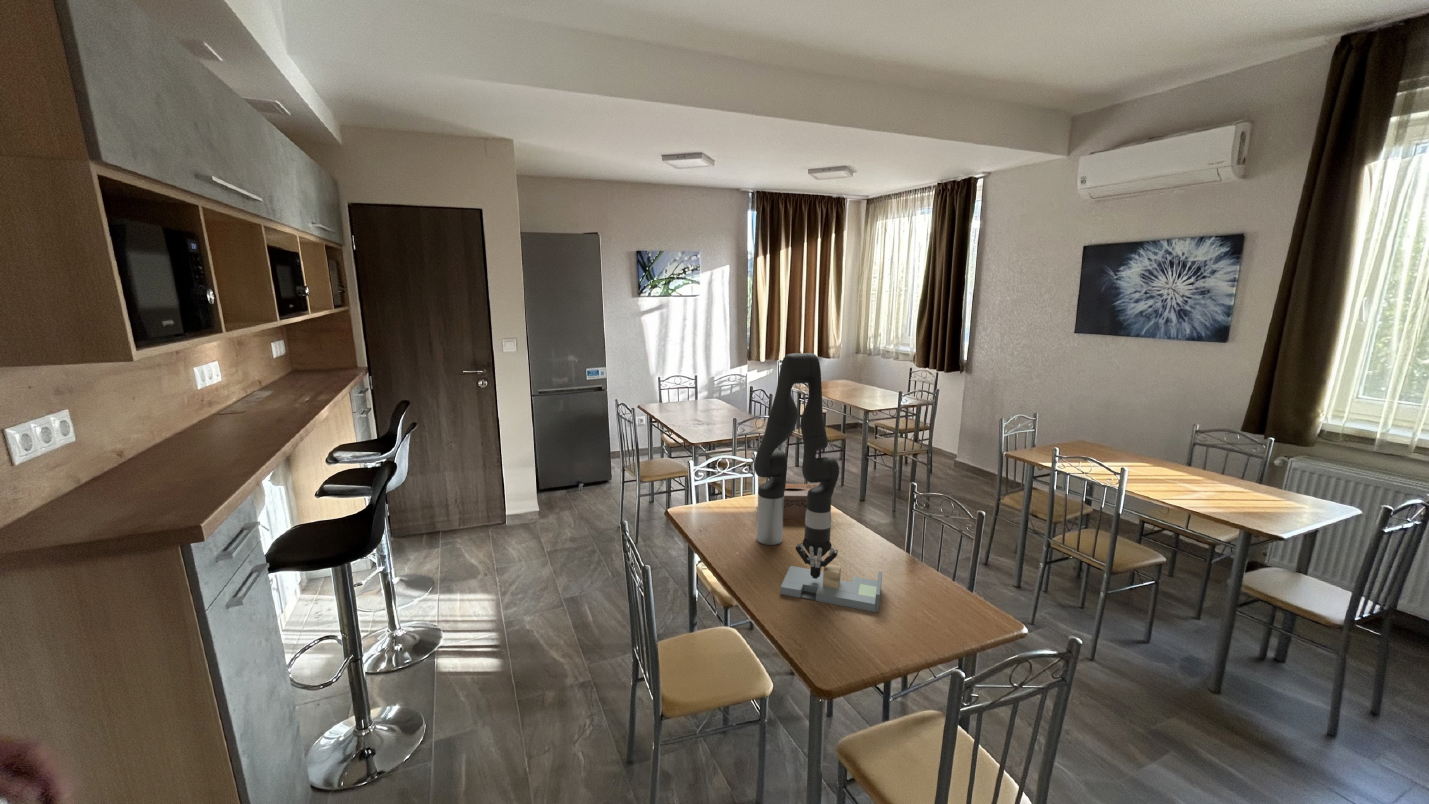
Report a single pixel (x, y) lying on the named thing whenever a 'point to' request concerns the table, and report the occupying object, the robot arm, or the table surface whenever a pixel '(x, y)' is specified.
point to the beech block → (831, 576)
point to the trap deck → (833, 590)
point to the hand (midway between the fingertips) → (815, 577)
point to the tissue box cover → (796, 500)
